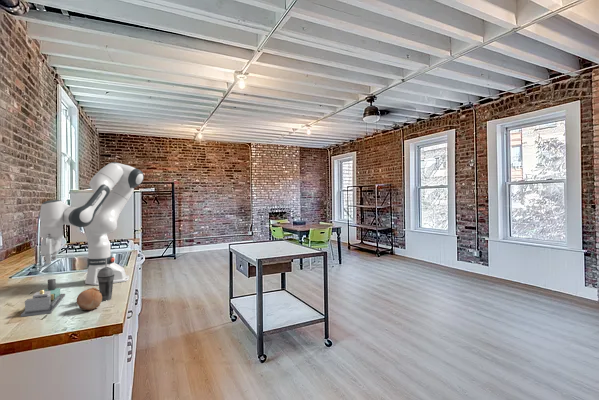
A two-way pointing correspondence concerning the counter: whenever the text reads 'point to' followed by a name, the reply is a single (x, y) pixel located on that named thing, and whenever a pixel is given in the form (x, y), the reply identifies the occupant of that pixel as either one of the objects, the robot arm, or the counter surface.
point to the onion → (89, 299)
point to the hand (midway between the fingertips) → (51, 261)
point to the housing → (42, 294)
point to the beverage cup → (106, 282)
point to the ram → (53, 288)
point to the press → (41, 305)
